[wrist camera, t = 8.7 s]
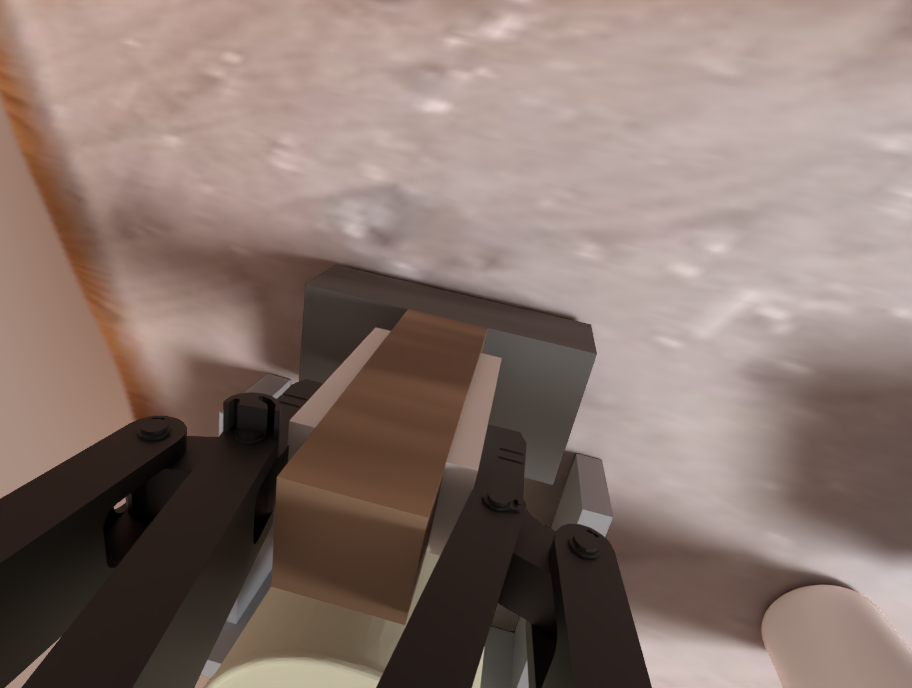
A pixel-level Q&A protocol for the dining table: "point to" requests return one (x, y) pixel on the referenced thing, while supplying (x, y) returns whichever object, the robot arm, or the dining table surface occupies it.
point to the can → (314, 644)
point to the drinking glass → (834, 641)
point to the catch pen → (502, 649)
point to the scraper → (408, 427)
